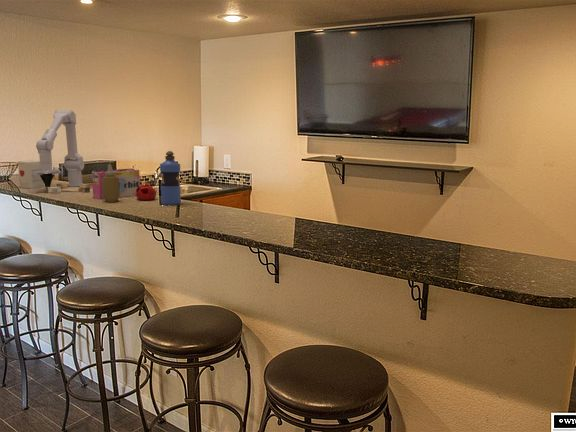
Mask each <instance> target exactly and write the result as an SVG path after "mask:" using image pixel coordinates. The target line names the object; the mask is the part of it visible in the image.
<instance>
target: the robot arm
mask: <svg viewBox="0 0 576 432" xmlns="http://www.w3.org/2000/svg"><path fill="white" fill-rule="evenodd" d="M52 116H53V120H52V123H51V125H50V127H49V128H47V129H46V130H45V132H44V133H43V135H42V137H41V139H39V140H37V141H36V145H35V147H36V150H37V153H38V156H39V161H40V169H41V171H35V172H33V175H34V176H37V175H40V177H41V178H42V180H43V182H44V187H45V188H46V187H52V186H51V184H52V181H53V179H54V177H55V174H56V175H57V174H59V175H60V174H61V170H60V169H53V161H52V159H53V158H52V157H53V156H52V151H53V150H54V143H55V139H56V137H57V136H58V133H57V131H58V130H59V128H60V127H61V126H62V125H63V126H64V127H65V137H66V146H67V147H66V149H67V154H66V155H65V156H64V157H63V158H64V162H63V166H64V168H65V170H66V171H67V176H68V178H67V179H68V187H82V184H85V183H83V174H82V171H83V170H84V168H85V162H84V158H83V156H82V155H81V154H79V152H78V143H77V142H78V141H77V132H76V124H77V114H76V112H74V111H73V110H71V109H70V110H67V109H66V110H65V109H64V110H61V109H60V110H59V109H56V110H54V112H53V115H52Z"/></svg>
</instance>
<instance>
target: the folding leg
mask: <svg viewBox="0 0 576 432" xmlns="http://www.w3.org/2000/svg"><path fill="white" fill-rule="evenodd" d="M52 188H57V191H58V192H59V193H61V192H62V191H61V186H58V187H57V186H50V187H45V193H46V194H50V193H51V194H52Z"/></svg>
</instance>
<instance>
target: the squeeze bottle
mask: <svg viewBox="0 0 576 432" xmlns="http://www.w3.org/2000/svg"><path fill="white" fill-rule="evenodd" d="M106 170H107V172H105V175H106V176H104V177H103V191H102V195H103V197H104V199H103V200H104V202H107V203H115V202H118V201H119V198H120V197H119V196H120V190H119V184H118V177H117V176H114V175H115V172H113V170H114V169H113V167H112V164H111V163H109V164H108V165H107V169H106Z"/></svg>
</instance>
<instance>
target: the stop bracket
mask: <svg viewBox="0 0 576 432" xmlns="http://www.w3.org/2000/svg"><path fill="white" fill-rule="evenodd" d="M51 194H54V195H58V194H59V195H60V194H61V192H58V191H57V188H52V192H51Z"/></svg>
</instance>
